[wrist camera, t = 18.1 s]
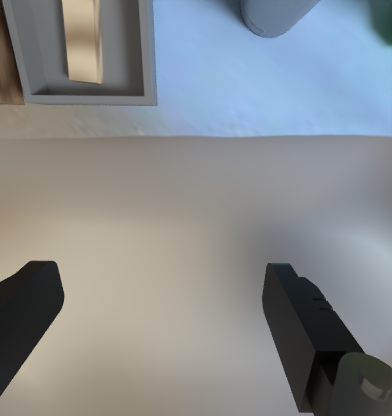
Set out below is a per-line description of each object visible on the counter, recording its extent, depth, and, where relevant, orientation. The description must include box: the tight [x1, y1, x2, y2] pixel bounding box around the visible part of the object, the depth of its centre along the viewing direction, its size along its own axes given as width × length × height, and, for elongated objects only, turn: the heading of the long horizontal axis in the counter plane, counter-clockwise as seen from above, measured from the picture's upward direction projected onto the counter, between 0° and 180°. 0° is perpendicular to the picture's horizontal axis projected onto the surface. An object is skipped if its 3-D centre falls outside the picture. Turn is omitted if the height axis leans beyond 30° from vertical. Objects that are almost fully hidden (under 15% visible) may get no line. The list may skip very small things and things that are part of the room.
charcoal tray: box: [2, 0, 157, 106], centre depth 32 cm, size 20×18×5 cm
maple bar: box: [62, 0, 103, 85], centre depth 33 cm, size 12×4×2 cm, turn 175°
